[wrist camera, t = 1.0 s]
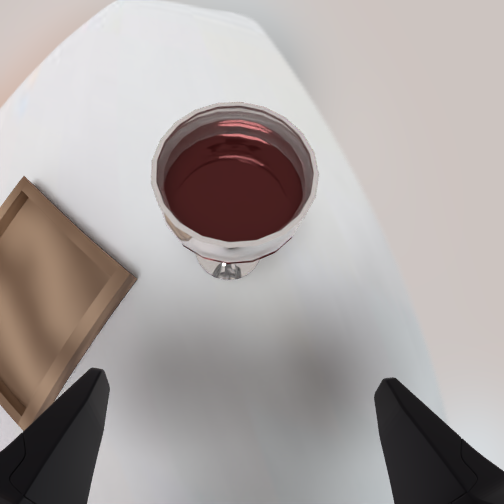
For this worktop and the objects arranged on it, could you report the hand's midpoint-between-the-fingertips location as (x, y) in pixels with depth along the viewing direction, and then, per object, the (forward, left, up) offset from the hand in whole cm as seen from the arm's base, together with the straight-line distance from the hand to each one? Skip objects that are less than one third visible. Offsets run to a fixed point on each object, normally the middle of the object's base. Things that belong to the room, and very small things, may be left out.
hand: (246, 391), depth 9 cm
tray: (-8, +16, -13) cm, 22 cm away
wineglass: (+6, +5, -13) cm, 16 cm away
